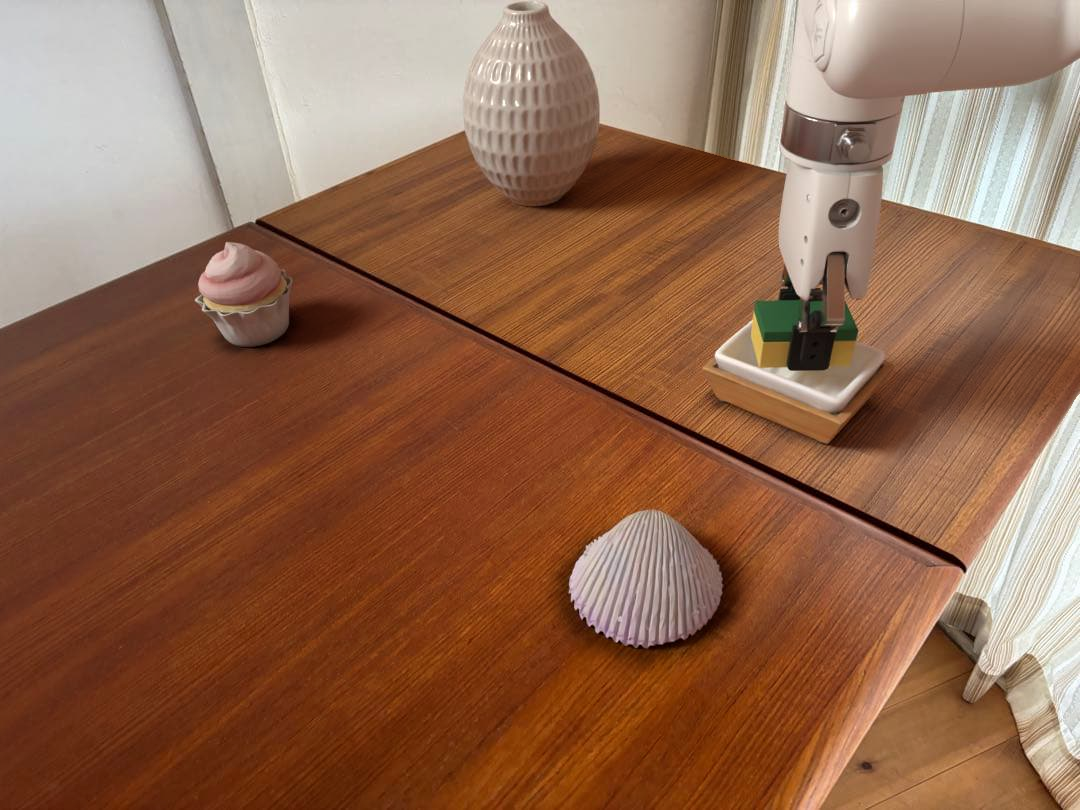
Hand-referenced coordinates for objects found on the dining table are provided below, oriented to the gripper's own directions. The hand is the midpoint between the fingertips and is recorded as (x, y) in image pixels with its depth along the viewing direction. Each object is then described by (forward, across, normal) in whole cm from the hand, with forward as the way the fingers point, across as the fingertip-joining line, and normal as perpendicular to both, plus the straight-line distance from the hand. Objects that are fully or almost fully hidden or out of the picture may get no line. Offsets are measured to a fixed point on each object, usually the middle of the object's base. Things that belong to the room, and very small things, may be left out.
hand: (800, 347), depth 69 cm
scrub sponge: (0, 0, 0) cm, 0 cm away
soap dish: (+6, 0, 0) cm, 6 cm away
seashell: (+6, -20, +14) cm, 25 cm away
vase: (+6, +42, +24) cm, 49 cm away
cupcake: (+6, +12, +51) cm, 52 cm away
